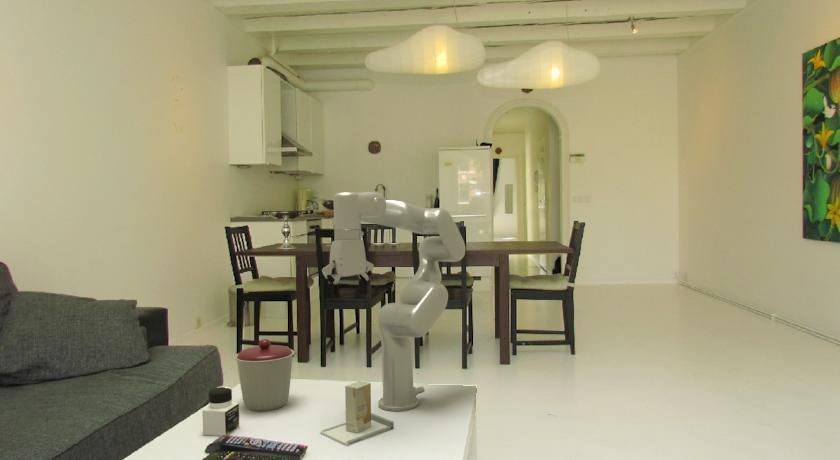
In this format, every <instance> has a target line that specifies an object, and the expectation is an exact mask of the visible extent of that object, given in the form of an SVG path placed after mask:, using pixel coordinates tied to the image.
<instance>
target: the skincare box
mask: <svg viewBox="0 0 840 460" xmlns="http://www.w3.org/2000/svg"><path fill="white" fill-rule="evenodd" d="M344 386H345V387H344V388H345V389H344V390H345V392H344V393H345V394H344V395H345V396H344V397H345V400H344V401H345V403H344V404H345V423H346V430H348V431H351V432H355V433H358V432H361V431H363V430H365V429H367V428H369V427H371V413H372V390H371V382H367V381H362V380H361V381H360V380H359V381H356V382H352V383H351V384H347V385H344Z"/></svg>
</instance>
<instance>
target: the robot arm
mask: <svg viewBox="0 0 840 460" xmlns="http://www.w3.org/2000/svg"><path fill="white" fill-rule="evenodd" d="M362 222H363V223H368V224H369V223H370V224H373V225H374V224H375V225H379V226H383V227H384V226H385V227H390V228H397V229H399V230H403V231H408V232H412V233H414V234H420V235H432V236H427V237H425V238H423V239H422V240H421V241H420V243H419V246H418V257H419V266H418V269H417V271H416V272H415V273H414V275H413V276H412V277H411V279H409V281H408V282H407V283H406V284H405V286H404V287H403V288H402V290H401V292H400V295H399V302H400V303H399V302H390V303H385V304H384V305H383V306H381V308H380V309H379V312H378V314H377V325H378V330H379V335H380V342H381V365H382V366H381V368H382V369H381V370H382V372H381V373H382V397H381V398H380V399H379V400H378V401H377V403H378V404H377V405H378V408H380V409H382V410H386V411H391V412H399V411H400V412H402V411H408V410H411V409H412V410H413V409H414V408H416V407H417V406H418V405H419V398H418V397H417V396H418V395H419V394H422V393H425V388H424V386H419V387H416V386H414V366H413V365H414V364H413V363H414V361H413V344H412V342H411V339H410V338H422V337H424V336H426V335H427V334H428V332H429V331H430V330H431V329H432V328H433V326H434V325H435V323H436V322H437V321H438V320H439V318H440V316H441V315H442V314H443V312H444V311H445V309H446V307H447V305H448V300H449V293H448V289H447V288H446V286H445V285H444V284H442V283H441V281H442V272H441V269H440V266H439V262H444V263H445V262H447V263H456V262H459V261H461V260H463V258H464V257H465V254H466V244H465V241H464V239H463V237H462V234H461V232H460V230H459V228H458V226H457V224H456V222H455V219H454V218H453V217H452V215H451V214H450V213H449V211H448V210H446V208H444V207H442V208H441V207H436V208H435V207H433V208H432V207H431V208H425V207H421V206H419V205H415V204H412V203H409V202H406V201H402V200H387V199H385V197H384V195H382V194H381V193H380V192H376V191H363V192H355V191H352V192H351V191H347V192H346V191H344V192H337V193H334V195H333V223H334V225H333V227H334V233H333V234H334V235H333V236H334V240H333V241H332V242H331V244H330V251H329V252H330V253H329V264H327V265H326V266H324V267H323V268H322V269H321V272H322V275H323V276H324V279H325V280H326V281H327V282H328V284H330V285H329V286H330V297H331V299H340V296H341V295H340V283H339V281H340V279H341V278H343V277H345V278H346V277H351V276H352V277H355V276H357V277H358V278H359V280H358V294H360V295H363V296H364V295H368V281H369V280H370V277H371V275H372V273H373V269H374V267H375V265H374V264H373V263H372V262H370V261H368V260H367V258H366V257H367V256H366V255H367V254H366V249H365V248H366V247H365V245H364V241H363V239H362V237H363V236H364V231H362ZM433 235H434V236H433ZM438 235H439V236H438Z"/></svg>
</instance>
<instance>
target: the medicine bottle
mask: <svg viewBox="0 0 840 460" xmlns="http://www.w3.org/2000/svg"><path fill="white" fill-rule="evenodd" d="M232 392H233V390H232V388H231V387H230V386H217V387H214V388H212V389H210V390H209V391H208V406H206V407H204V408H203V409H202V410H201V411H202V412H201V414H202V434H203V436H213V437H215V436H216V437H224V436H223V435H227V436H230V434H231V433H233V432H234V431H236V430H237V429H239V428H240V411H239V409H240V407H239V405H240V404H239V402H237V401H235V402H234V401H233V393H232Z"/></svg>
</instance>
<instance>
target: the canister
mask: <svg viewBox="0 0 840 460" xmlns="http://www.w3.org/2000/svg"><path fill="white" fill-rule="evenodd" d="M294 355H295V350H293V349H291V348H290V347H288V346H285V345H280V344H279V345H278V344H271V341H270V339H267V338H263V339H261V340H259V342H258V346H256V345H255V346H253V347H248V348H244V349H242V350H241V351H240V352H238V353H237V354H236V355H235V356H234V360H235V361H236V362H237V369H238V376H239V382H240V391H241V397H242V401H243V404H244V406H245V407H246V408H247V409H249V410H250V411H255V412H265V411H266V412H267V411H273V410H277V409H278V408H279V409H280V408H281V407H283V406H284V405H286V403H287V401H288V400H289V395H290V387H291V377H292V368H293V367H292V365H293V356H294Z"/></svg>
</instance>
